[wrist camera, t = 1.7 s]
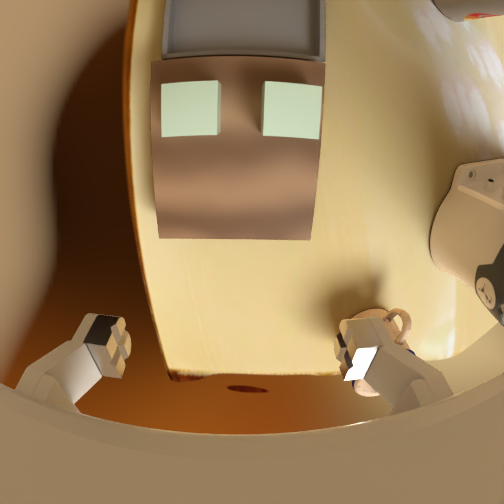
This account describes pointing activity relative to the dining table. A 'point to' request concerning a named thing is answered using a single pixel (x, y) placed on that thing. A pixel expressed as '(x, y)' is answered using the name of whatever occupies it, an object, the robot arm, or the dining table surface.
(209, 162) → the walnut bench
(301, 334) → the dining table surface
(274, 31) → the charcoal tray
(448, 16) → the lotion bottle
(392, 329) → the teacup with lid
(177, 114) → the mint block
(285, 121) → the mint block
